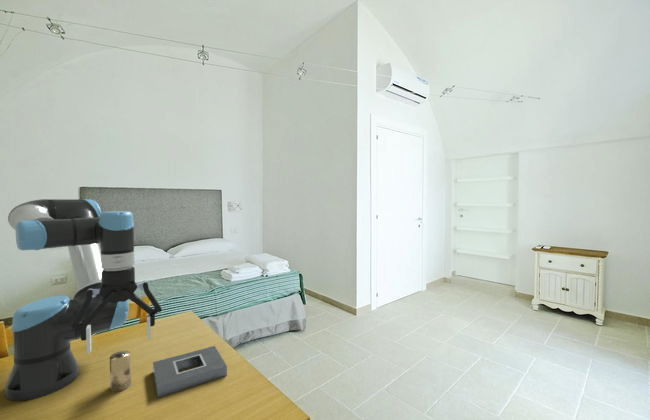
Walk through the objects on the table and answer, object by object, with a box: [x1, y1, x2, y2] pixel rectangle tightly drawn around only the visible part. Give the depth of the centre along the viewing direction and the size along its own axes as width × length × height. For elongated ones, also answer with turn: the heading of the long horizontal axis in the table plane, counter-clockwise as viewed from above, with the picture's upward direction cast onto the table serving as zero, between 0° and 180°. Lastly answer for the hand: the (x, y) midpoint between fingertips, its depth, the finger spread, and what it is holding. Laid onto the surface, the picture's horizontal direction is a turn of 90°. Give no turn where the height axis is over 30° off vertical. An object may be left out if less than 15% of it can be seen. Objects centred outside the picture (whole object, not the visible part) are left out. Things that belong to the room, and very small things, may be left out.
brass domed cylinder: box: [109, 350, 132, 393], centre depth 83 cm, size 5×5×9 cm
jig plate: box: [152, 345, 228, 399], centre depth 90 cm, size 14×18×3 cm
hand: (120, 344), depth 83 cm, fingers open, 13 cm apart
